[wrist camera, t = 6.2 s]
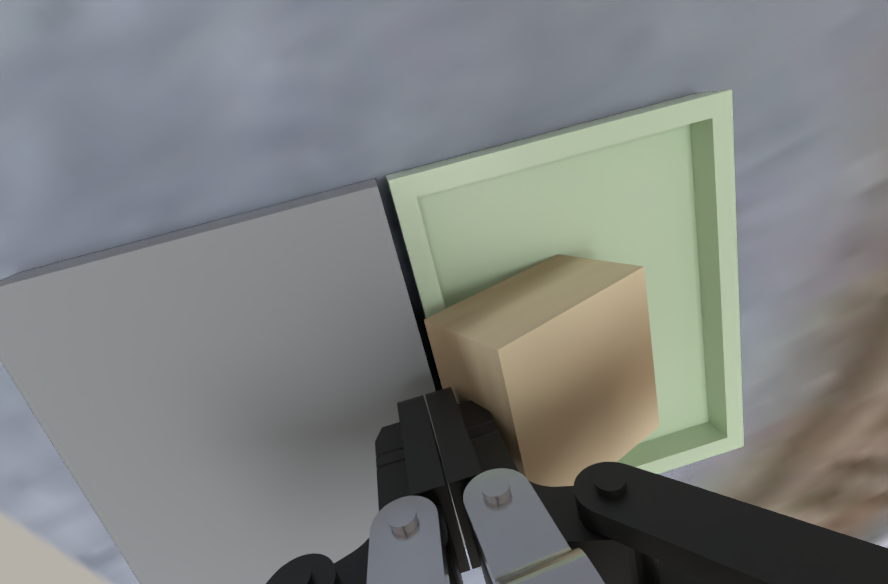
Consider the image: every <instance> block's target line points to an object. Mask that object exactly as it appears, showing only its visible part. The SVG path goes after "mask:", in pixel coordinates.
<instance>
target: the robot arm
mask: <svg viewBox="0 0 888 584" xmlns="http://www.w3.org/2000/svg"><path fill="white" fill-rule="evenodd" d="M425 396H426V400H427V404H428V408H429V412H430V416H431V419H432V423H433V427H434V430H433V427H432V423H431V420H430V416H429V413H428V409H427V406H426V402H425V399H424V396H423V395H421V396H418V397H415V398H411V399H408V400H405V401H401V402H398V403H397V408H398V415H399V421H400V422H398V423H394V424H391V425H388V426H384V427H382V428H381V430H380V432H379V434H378V436H377V438H376V440H375V453H376V467H377V488H378V506H379V512H378V513H377V515H376V516H375V518H374V519H373V521H372V524H371V527H370V537H369V538H368V539H367V540H366V541H365V542H364V543H363V544H362V545H361V546H360V547H359V548H358V549H356V550H355V551H353V552H352V553H350V554H348V555H347V556H345V557H344V558H342V559H340V560H339V561H337V562H335V563H333V562H332V560H331V559H330V558H329V557H327V556H325V555H323V554H317V553H312V554H306V555H302V556H299V557H297V558H295V559H293V560H291V561H289V562H288V563H286V564H285V565H283V566H282V567H281V568H280V569H279V570H277V571H276V572H275V573H274V575H273V576H272V577H271V578H270V579H269V580H268V581H267V583H266V584H463V580H462V576H461V573H462V572H465V571H469V570H470V567H469V563H468V559H467V556H466V552H465V548H464V544H463V540H462V536H461V532H460V528H459V524H458V521H457V517H456V513H457V516H458V520H459V523H460V527H461V530H462V534H463V537H464V541H465V544H466V548H467V551H468V555H469V558H470V562H471V565H472V569H474V568H477V567H480V566H481V567H482V571H483V574H484V578H485V581H486V584H888V548H885V547H882V546H879V545H875V544H872V543H869V542H866V541H863V540H860V539H857V538H854V537H851V536H848V535H844V534H841V533H838V532H835V531H832V530H829V529H826V528H823V527H820V526H816V525H813V524H810V523H807V522H804V521H801V520H798V519H795V518H792V517H789V516H785V515H782V514H779V513H776V512H773V511H770V510H767V509H764V508H761V507H758V506H754V505H751V504H748V503H745V502H742V501H739V500H736V499H733V498H730V497H726V496H723V495H720V494H717V493H714V492H711V491H708V490H705V489H702V488H699V487H695V486H692V485H689V484H686V483H683V482H680V481H677V480H674V479H671V478H668V477H664V476H661V475H658V474H655V473H652V472H649V471H646V470H643V469H640V468H637V467H633V466H630V465H627V464H624V463H619V462H600V463H595V464H593V465H590V466H588V467H586V468H585V469H583V470H582V471H581V472H580V473H579V474H578V475H577V477H576V478H575V481H574V486H560V487H549V486H542V485H538V484H535V483H533V482H531V481H529V480H528V479H527V478H526V477H525V476H524V475H523V474H521V473H520V472H519V471H518V469H517V467H516V465H515V463H514V461H513V459H512V457H511V455H510V452H509V450H508V448H507V446H506V444H505V442H504V440H503V438H502V436H501V433H500V432H499V429H498V427H497V425H496V423H495V422H494V419H493V417H492V414H491V412H490V411H488V410H487V409H485V408H483V407H481V406H480V405H478V404H476V403H475V402H473V401H467V402H464V403H461V404H457V401H456V399H455V396H454V393H453V390H452V388H451V387H448V388H445V389H441V390H438V391H435V392H431V393H428V394H425ZM434 431H435V434H434ZM435 435H436V437H435ZM436 439H437V441H436ZM437 443H438V444H437ZM438 447H439V448H438ZM439 450H440V451H439ZM440 454H441V455H440ZM441 458H442V459H441ZM447 481H448V482H447ZM448 485H449V486H448ZM450 492H451V493H450ZM451 496H452V497H451ZM452 499H453V501H452ZM453 503H454V505H453ZM454 506H455V509H456V513H455V509H454Z"/></svg>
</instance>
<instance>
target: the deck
mask: <svg viewBox="0 0 888 584" xmlns="http://www.w3.org/2000/svg"><path fill="white" fill-rule="evenodd" d="M0 361H1V363H2V364H3V366H4V368H5V369H6V371H7V372H8V374H9V376H10V377H11V379H12V380H13V382H14V384H15V385H16V387H17V388H18V390H19V391H20V393H21V395H22V396H23V398H24V399H25V401H26V403H27V404H28V406H29V407H30V409H31V411H32V412H33V414H34V415H35V417H36V419H37V420H38V422H39V423H40V425H41V427H42V428H43V430H44V431H45V433H46V435H47V436H48V438H49V439H50V441H51V443H52V444H53V446H54V447H55V449H56V451H57V452H58V454H59V455H60V457H61V459H62V460H63V462H64V463H65V465H66V466H67V468H68V470H69V471H70V473H71V474H72V476H73V478H74V479H75V481H76V482H77V484H78V486H79V487H80V489H81V490H82V492H83V494H84V495H85V497H86V498H87V500H88V502H89V503H90V505H91V506H92V508H93V510H94V511H95V513H96V514H97V516H98V518H99V519H100V521H101V522H102V524H103V526H104V527H105V529H106V530H107V532H108V534H109V535H110V537H111V538H112V540H113V541H114V543H115V545H116V546H117V548H118V549H119V551H120V553H121V554H122V556H123V557H124V559H125V561H126V562H127V564H128V565H129V567H130V569H131V570H132V572H133V573H134V575H135V577H136V578H137V580H138V581H139V583H140V584H266V583H267V581H268V580H269V579H270V578H271V577H272V576H273V575H274V573H275V572H276V571H277V570H279V569H280V568H281V567H282V566H283V565H285V564H286V563H288V562H289V561H291V560H293V559H295V558H297V557H299V556H302V555H306V554H312V553H317V554H323V555H325V556H327V557H329V558H330V559H331V560H332V562H333V563H335V562H337V561H339V560H340V559H342V558H344V557H345V556H347V555H348V554H350V553H352V552H353V551H355V550H356V549H358V548H359V547H360V546H361V545H362V544H363V543H364V542H365V541H366V540H367V539H368V538H369V537H370V527H371V524H372V521H373V519H374V518H375V516H376V515H377V513H378V512H379V506H378V488H377V467H376V453H375V440H376V438H377V436H378V434H379V432H380V430H381V428H382V427H384V426H388V425H391V424H394V423H398V422H400V421H399V415H398V408H397V403H398V402H401V401H405V400H408V399H411V398H415V397H418V396H421V395H423V396H424V399H425V402H426V406H427V409H428V413H429V416H430V412H429V408H428V404H427V400H426V396H425V394H428V393H431V392H435V391H436V390H435V386H434V383H433V379H432V376H431V372H430V369H429V365H428V362H427V358H426V355H425V351H424V348H423V344H422V341H421V337H420V334H419V330H418V327H417V323H416V320H415V316H414V312H413V309H412V305H411V302H410V298H409V295H408V291H407V288H406V284H405V281H404V277H403V274H402V270H401V267H400V263H399V260H398V256H397V253H396V249H395V246H394V242H393V239H392V235H391V232H390V228H389V225H388V221H387V218H386V214H385V211H384V207H383V204H382V200H381V197H380V193H379V190H378V186H377V183H376V179H375V178H374V179H371V180H367V181H363V182H359V183H355V184H352V185H348V186H344V187H340V188H337V189H333V190H329V191H325V192H321V193H318V194H314V195H310V196H306V197H303V198H299V199H295V200H291V201H288V202H284V203H280V204H276V205H272V206H269V207H265V208H261V209H257V210H254V211H250V212H246V213H242V214H238V215H235V216H231V217H227V218H223V219H220V220H216V221H212V222H208V223H205V224H201V225H197V226H193V227H189V228H186V229H182V230H178V231H174V232H171V233H167V234H163V235H159V236H155V237H152V238H148V239H144V240H140V241H137V242H133V243H129V244H125V245H122V246H118V247H114V248H110V249H106V250H103V251H99V252H95V253H91V254H88V255H84V256H80V257H76V258H72V259H69V260H65V261H61V262H57V263H54V264H50V265H46V266H42V267H39V268H35V269H31V270H27V271H23V272H20V273H16V274H14V275H11V276H9V277H7V278H4V279H2V280H0ZM430 420H431V423H432V419H431V416H430ZM432 427H433V423H432ZM433 430H434V427H433ZM434 434H435V431H434ZM435 437H436V435H435ZM436 441H437V439H436ZM437 444H438V443H437ZM438 448H439V447H438ZM439 451H440V450H439ZM440 455H441V454H440ZM441 459H442V458H441ZM447 482H448V481H447ZM448 486H449V485H448ZM450 493H451V492H450ZM451 497H452V496H451ZM452 501H453V499H452ZM453 505H454V503H453ZM454 509H455V506H454ZM455 513H456V509H455ZM456 517H457V521H458V524H459V528H460V532H461V536H462V540H463V544H464V548H465V549H466V544H465V541H464V537H463V534H462V530H461V527H460V523H459V520H458V516H457V513H456Z"/></svg>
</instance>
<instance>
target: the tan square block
mask: <svg viewBox="0 0 888 584" xmlns="http://www.w3.org/2000/svg"><path fill="white" fill-rule="evenodd" d="M424 323H425V326H426V330H427V334H428V337H429V341H430V345H431V348H432V352H433V356H434V359H435V363H436V367H437V370H438V374H439V378H440V381H441V385H442V389H445V388H448V387H451V388H452V390H453V393H454V396H455V399H456V401H457V404H461V403H464V402H467V401H473V402H475V403H476V404H478V405H480V406H481V407H483V408H485V409H487V410H488V411H490V412H491V414H492V417H493V419H494V422H495V423H496V425H497V427H498V429H499V432H500V433H501V436H502V438H503V440H504V442H505V444H506V446H507V448H508V450H509V452H510V455H511V457H512V459H513V461H514V463H515V465H516V467H517V469H518V471H519V472H520V473H521V474H523V475H524V476H525V477H526V478H527V479H528V480H529V481H531V482H533V483H535V484H538V485H542V486H549V487H560V486H574V481H575V478H576V477H577V475H578V474H579V473H580V472H581V471H582V470H583V469H585V468H586V467H588V466H590V465H593V464H595V463H600V462H617V461H618V460H620V459H621V458H622V457H623V456H624V455H626V454H627V453H628V452H629V451H630V450H632V449H633V448H634V447H635V446H636V445H638V444H639V443H640V442H641V441H642V440H644V439H645V438H646V437H647V436H648V435H650V434H651V433H652V432H653V431H654V430H656V429H657V428H658V427H659V426H660V424H659V414H658V404H657V393H656V383H655V373H654V363H653V352H652V342H651V332H650V322H649V312H648V301H647V291H646V281H645V271H644V266H637V265H630V264H623V263H616V262H609V261H602V260H595V259H588V258H580V257H573V256H566V255H559V254H557V255H555V256H553V257H551V258H549V259H547V260H545V261H543V262H541V263H539V264H537V265H535V266H533V267H531V268H529V269H527V270H524V271H522V272H520V273H518V274H516V275H514V276H512V277H510V278H508V279H506V280H504V281H502V282H500V283H498V284H496V285H494V286H492V287H490V288H488V289H486V290H484V291H481V292H479V293H477V294H475V295H473V296H471V297H469V298H467V299H465V300H463V301H461V302H459V303H457V304H455V305H453V306H451V307H449V308H447V309H445V310H443V311H441V312H438V313H436V314H434V315H432V316H430V317H428V318H426V319H424Z"/></svg>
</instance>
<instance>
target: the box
mask: <svg viewBox="0 0 888 584" xmlns="http://www.w3.org/2000/svg"><path fill="white" fill-rule="evenodd" d="M386 179H387V183H388V186H389V190H390V194H391V197H392V201H393V204H394V208H395V212H396V215H397V219H398V223H399V226H400V230H401V233H402V237H403V241H404V244H405V248H406V251H407V255H408V259H409V262H410V266H411V269H412V273H413V277H414V280H415V284H416V288H417V291H418V295H419V298H420V302H421V306H422V309H423V313H424V316H425V319H426V318H428V317H430V316H432V315H434V314H436V313H438V312H441V311H443V310H445V309H447V308H449V307H451V306H453V305H455V304H457V303H459V302H461V301H463V300H465V299H467V298H469V297H471V296H473V295H475V294H477V293H479V292H481V291H484V290H486V289H488V288H490V287H492V286H494V285H496V284H498V283H500V282H502V281H504V280H506V279H508V278H510V277H512V276H514V275H516V274H518V273H520V272H522V271H524V270H527V269H529V268H531V267H533V266H535V265H537V264H539V263H541V262H543V261H545V260H547V259H549V258H551V257H553V256H555V255H557V254H559V255H566V256H573V257H580V258H588V259H595V260H602V261H609V262H616V263H623V264H630V265H637V266H644V271H645V281H646V291H647V301H648V312H649V322H650V332H651V342H652V352H653V363H654V373H655V383H656V393H657V404H658V414H659V424H660V426H659V427H658V428H657V429H656V430H654V431H653V432H652V433H651V434H650V435H648V436H647V437H646V438H645V439H644V440H642V441H641V442H640V443H639V444H638V445H636V446H635V447H634V448H633V449H632V450H630V451H629V452H628V453H627V454H626V455H624V456H623V457H622V458H621V459H620V460H618V461H617V462H619V463H624V464H627V465H630V466H633V467H637V468H640V469H643V470H646V471H649V472H652V473H655V474H659V473H663V472H666V471H669V470H672V469H675V468H678V467H681V466H684V465H687V464H691V463H694V462H697V461H700V460H703V459H706V458H709V457H712V456H715V455H718V454H722V453H725V452H728V451H731V450H734V449H737V448H740V447H743V446H744V437H743V407H742V377H741V347H740V317H739V287H738V257H737V227H736V197H735V167H734V137H733V107H732V89H731V90H721V91H712V92H702V93H695V94H691V95H687V96H684V97H680V98H676V99H672V100H669V101H665V102H661V103H657V104H653V105H650V106H646V107H642V108H638V109H635V110H631V111H627V112H623V113H620V114H616V115H612V116H608V117H604V118H601V119H597V120H593V121H589V122H586V123H582V124H578V125H574V126H570V127H567V128H563V129H559V130H555V131H552V132H548V133H544V134H540V135H537V136H533V137H529V138H525V139H521V140H518V141H514V142H510V143H506V144H503V145H499V146H495V147H491V148H487V149H484V150H480V151H476V152H472V153H469V154H465V155H461V156H457V157H454V158H450V159H446V160H442V161H438V162H435V163H431V164H427V165H423V166H420V167H416V168H412V169H408V170H404V171H401V172H397V173H393V174H389V175H386Z"/></svg>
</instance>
